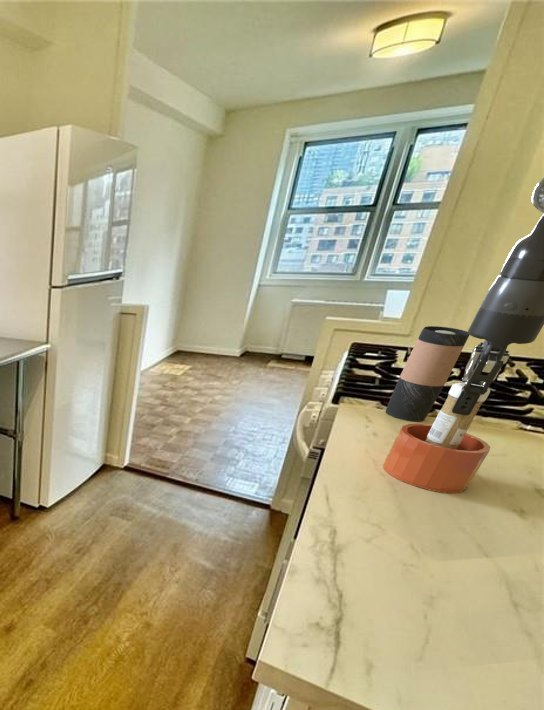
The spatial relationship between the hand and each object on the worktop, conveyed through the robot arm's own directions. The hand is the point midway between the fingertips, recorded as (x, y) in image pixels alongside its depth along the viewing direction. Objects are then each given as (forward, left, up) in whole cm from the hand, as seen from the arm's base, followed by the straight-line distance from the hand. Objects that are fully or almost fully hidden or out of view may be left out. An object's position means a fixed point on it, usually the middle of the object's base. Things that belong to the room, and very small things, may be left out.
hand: (460, 408), depth 83 cm
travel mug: (-22, -25, -14) cm, 36 cm away
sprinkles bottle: (0, 0, -10) cm, 10 cm away
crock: (0, 0, -14) cm, 14 cm away
